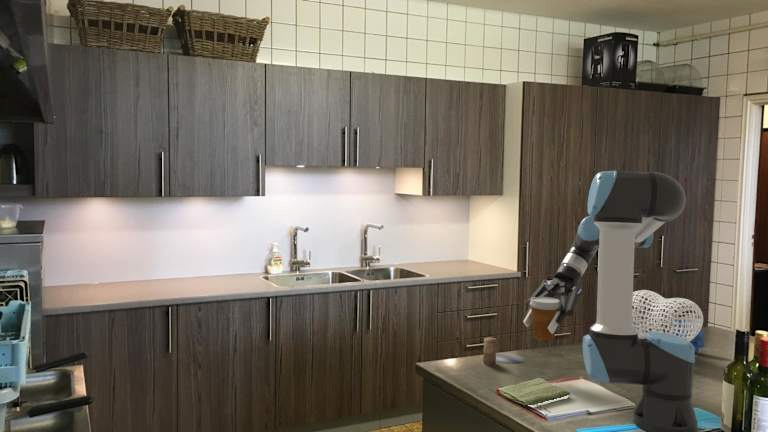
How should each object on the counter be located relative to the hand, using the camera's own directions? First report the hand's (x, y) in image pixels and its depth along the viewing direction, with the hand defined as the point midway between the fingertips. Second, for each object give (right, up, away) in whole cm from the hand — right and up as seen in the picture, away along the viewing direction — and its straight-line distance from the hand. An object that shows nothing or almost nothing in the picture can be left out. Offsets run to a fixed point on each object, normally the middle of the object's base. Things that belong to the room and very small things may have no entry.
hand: (537, 327), depth 201 cm
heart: (+48, -15, +25) cm, 56 cm away
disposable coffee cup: (+2, -4, +2) cm, 5 cm away
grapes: (+61, -15, +33) cm, 70 cm away
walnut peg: (-13, -13, +10) cm, 21 cm away
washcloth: (-5, -18, -15) cm, 24 cm away
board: (-7, -14, +13) cm, 21 cm away
